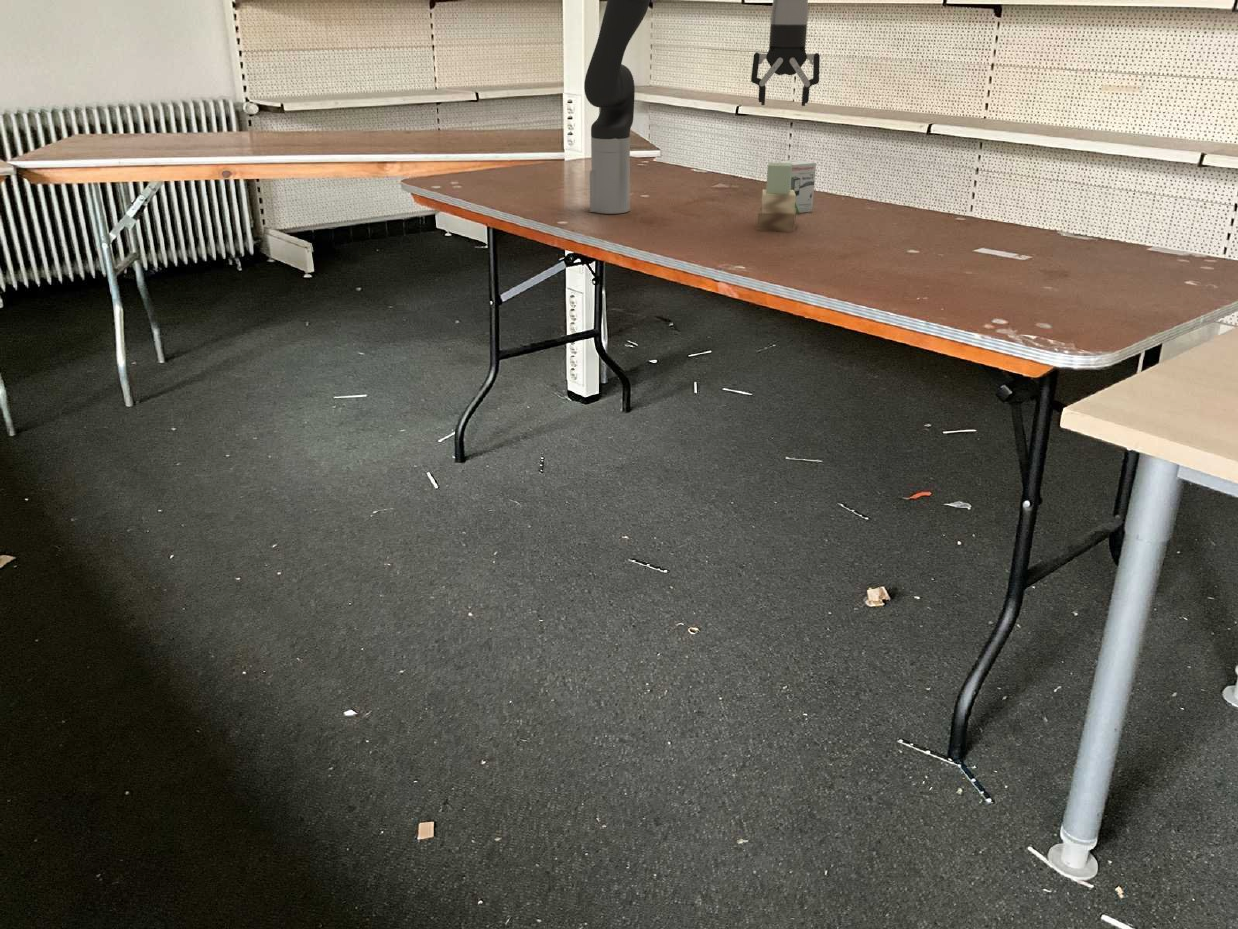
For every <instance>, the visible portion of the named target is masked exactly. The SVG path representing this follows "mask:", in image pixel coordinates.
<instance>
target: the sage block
mask: <svg viewBox="0 0 1238 929" xmlns="http://www.w3.org/2000/svg"><path fill="white" fill-rule="evenodd" d="M766 173H767V174H766V176H767V177H766V186H765V188H766V194H786V195H789V193H790V189H791V176H792V163H777V162H769V163H768V165H767V172H766Z"/></svg>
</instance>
